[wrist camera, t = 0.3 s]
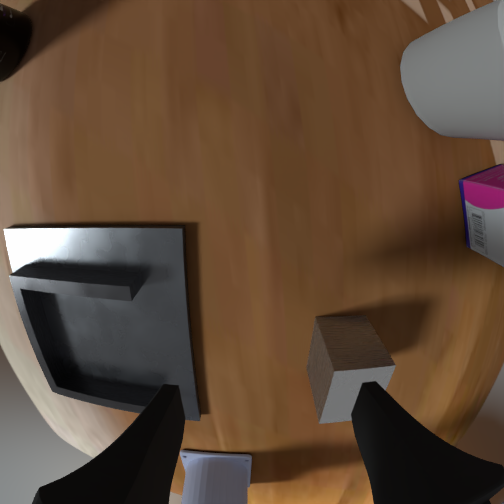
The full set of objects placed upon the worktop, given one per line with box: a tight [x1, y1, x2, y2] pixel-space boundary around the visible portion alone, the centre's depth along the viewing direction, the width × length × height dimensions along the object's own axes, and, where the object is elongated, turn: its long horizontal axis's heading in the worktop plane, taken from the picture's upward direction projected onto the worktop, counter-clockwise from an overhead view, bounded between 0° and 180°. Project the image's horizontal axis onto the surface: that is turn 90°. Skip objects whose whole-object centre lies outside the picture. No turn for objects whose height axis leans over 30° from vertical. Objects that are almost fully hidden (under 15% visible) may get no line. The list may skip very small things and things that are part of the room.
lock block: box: [306, 315, 396, 424], centre depth 19 cm, size 5×4×6 cm
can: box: [400, 0, 504, 141], centre depth 9 cm, size 8×8×12 cm
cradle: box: [4, 225, 201, 421], centre depth 20 cm, size 18×16×3 cm
